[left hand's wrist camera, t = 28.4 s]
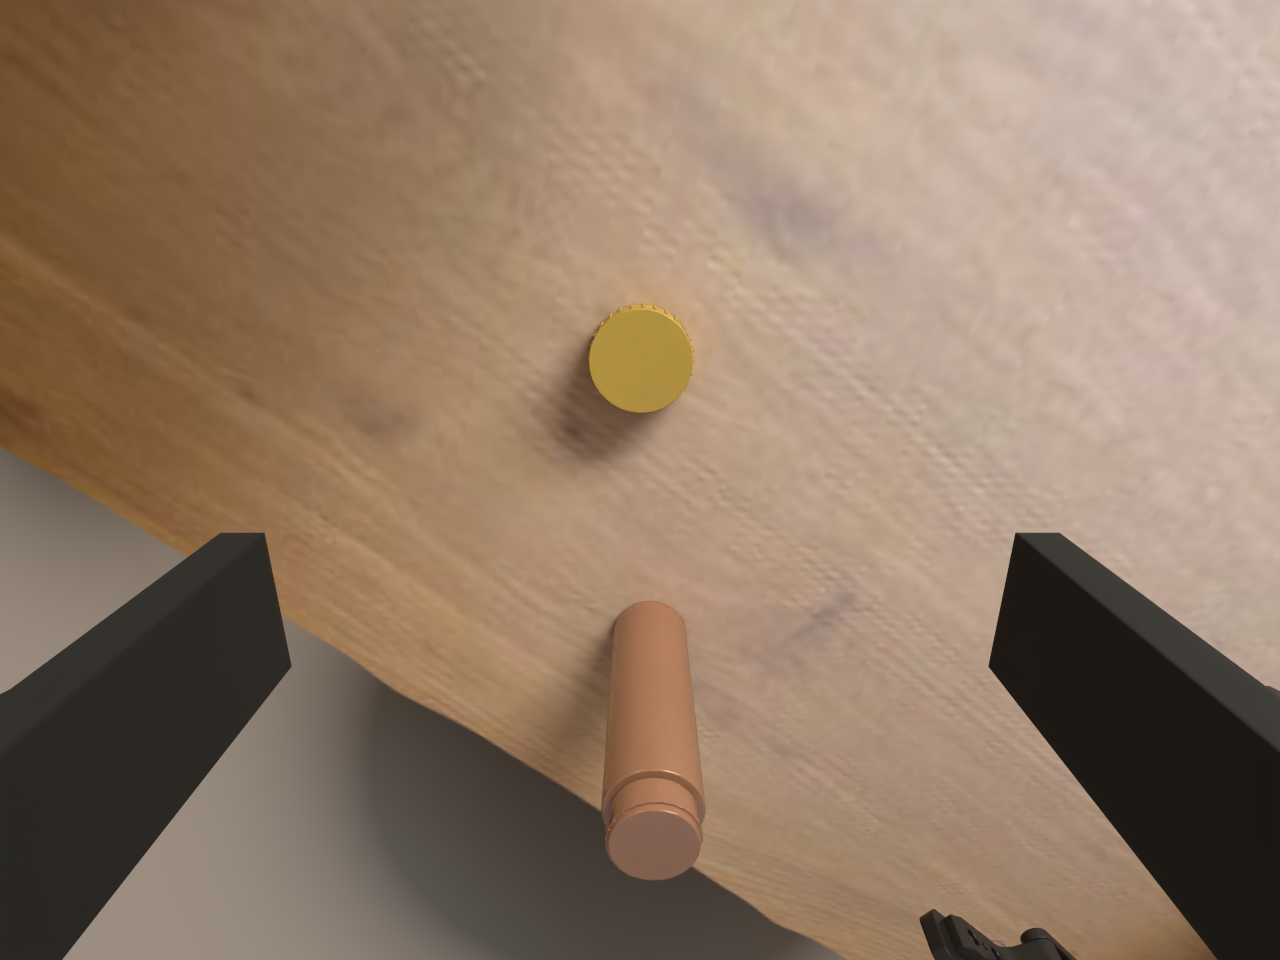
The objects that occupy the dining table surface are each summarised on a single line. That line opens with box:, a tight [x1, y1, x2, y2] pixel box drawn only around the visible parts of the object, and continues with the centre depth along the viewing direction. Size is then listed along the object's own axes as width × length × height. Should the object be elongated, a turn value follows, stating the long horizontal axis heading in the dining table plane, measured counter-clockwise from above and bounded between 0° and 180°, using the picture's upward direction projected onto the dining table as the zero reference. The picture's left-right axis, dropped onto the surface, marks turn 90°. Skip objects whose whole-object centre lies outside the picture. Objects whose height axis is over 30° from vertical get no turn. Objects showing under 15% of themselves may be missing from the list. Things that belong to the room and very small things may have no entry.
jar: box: [601, 602, 706, 880], centre depth 36 cm, size 4×4×16 cm
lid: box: [588, 303, 694, 413], centre depth 36 cm, size 5×5×2 cm
